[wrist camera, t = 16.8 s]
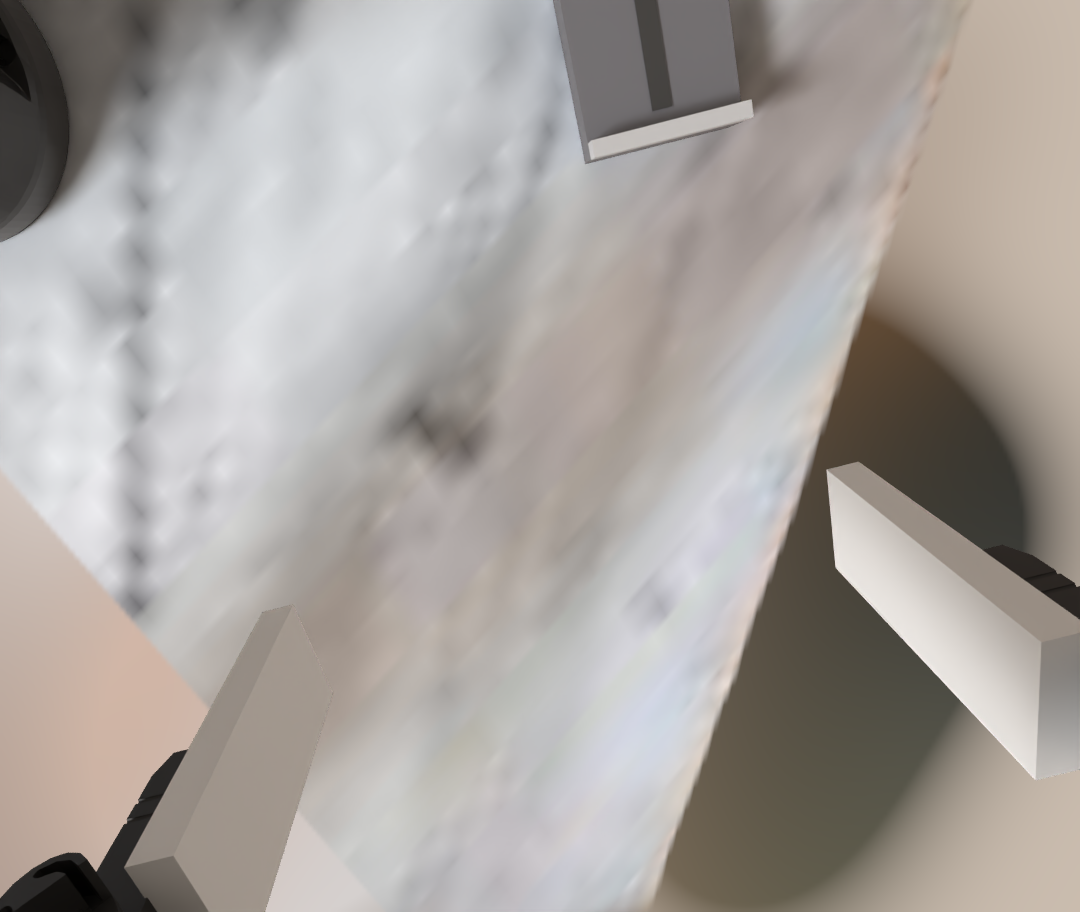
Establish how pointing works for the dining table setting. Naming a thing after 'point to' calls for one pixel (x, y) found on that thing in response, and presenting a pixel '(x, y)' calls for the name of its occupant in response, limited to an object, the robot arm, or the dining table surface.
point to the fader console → (649, 71)
